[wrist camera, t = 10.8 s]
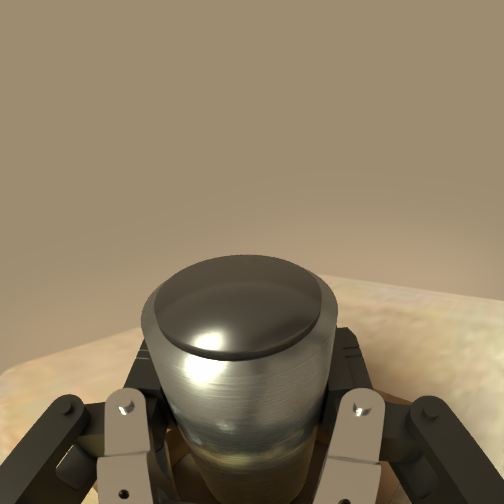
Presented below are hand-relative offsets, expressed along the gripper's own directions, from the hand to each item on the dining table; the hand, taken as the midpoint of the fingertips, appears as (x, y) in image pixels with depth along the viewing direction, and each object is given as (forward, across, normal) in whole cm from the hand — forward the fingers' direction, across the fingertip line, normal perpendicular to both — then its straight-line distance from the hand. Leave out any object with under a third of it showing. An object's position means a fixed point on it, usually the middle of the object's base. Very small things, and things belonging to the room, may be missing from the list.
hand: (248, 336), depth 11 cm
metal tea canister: (-3, 0, +7) cm, 7 cm away
